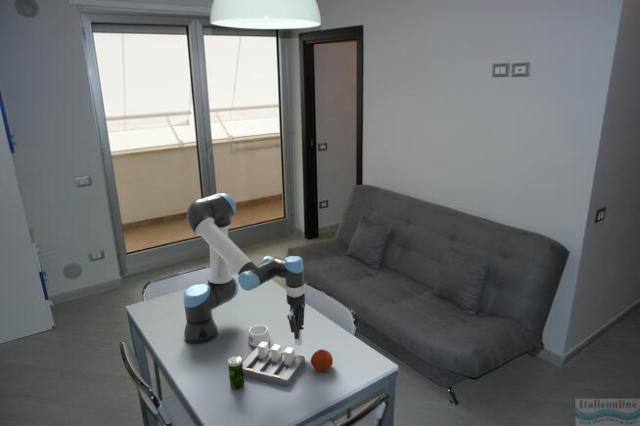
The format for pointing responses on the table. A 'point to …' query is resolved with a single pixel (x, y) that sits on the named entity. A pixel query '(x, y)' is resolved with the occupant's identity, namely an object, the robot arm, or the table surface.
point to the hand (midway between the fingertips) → (298, 343)
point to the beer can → (236, 373)
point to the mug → (258, 335)
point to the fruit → (322, 360)
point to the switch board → (272, 368)
